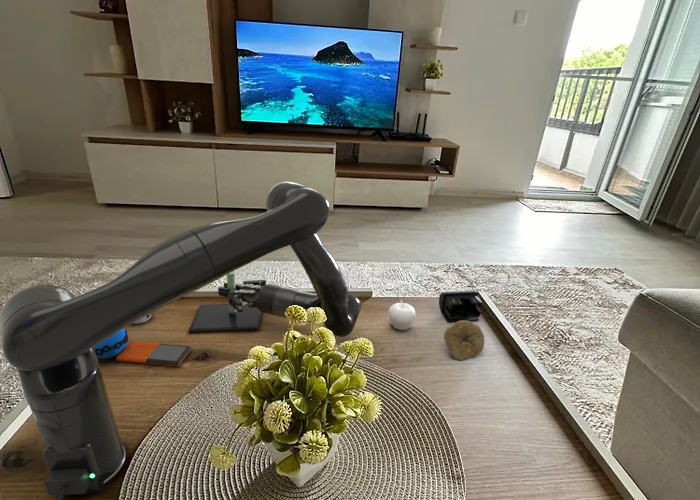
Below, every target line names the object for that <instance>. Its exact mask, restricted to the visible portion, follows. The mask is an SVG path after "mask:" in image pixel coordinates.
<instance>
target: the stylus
mask: <svg viewBox="0 0 700 500" xmlns="http://www.w3.org/2000/svg"><path fill="white" fill-rule="evenodd" d="M235 271H236V270H234V271H232V272H230V273H228V274H227V275H226V282H227V286H228V289H232V290H236V285H235V284H236V272H235ZM235 296H236V297H237V294H235ZM227 304H228V307H229V316H231V317H233V316H236V314H237V312H236V309H234V308H233V307H232V306H231V305H230V304H229V300H228V299H227Z"/></svg>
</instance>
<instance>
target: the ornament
mask: <svg viewBox="0 0 700 500" xmlns="http://www.w3.org/2000/svg"><path fill="white" fill-rule="evenodd" d="M128 342H129V335H128V331H127V330H126V327H125V328H123V329H122V330H120V331H119V332H117V333H115V334H114V335H112V336H111V337H109V338H108V339H106V340H104V341H103V342H101V343H100V344H98V345H96V346H95V347H93V348H94V351H95V354H96V357H97V359H100V360H102V359H103V360H106V359H110V358H113V357H116V356H118V355H119V354H120V353H121V352H122V351H123V350H124V349H125V348H126V346H127V343H128Z"/></svg>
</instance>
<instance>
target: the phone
mask: <svg viewBox="0 0 700 500" xmlns="http://www.w3.org/2000/svg"><path fill="white" fill-rule="evenodd" d="M191 350H192V347H191V346H189V345H180V344H171V343H170V344H169V343H159V342H156V343H155V342H146V341H137V340H132V341H130V343H129V344H128V345H126V346H125V347H124V348H123V350H122V351H121V352H120V353H118V354H117V355H116V356H115V360H116V361H117V362H124V363H125V362H126V363H136V364H144V365H154V366H165V367H176V368H177V367H179V366H180V365H181V364H182V362H183V361H184V360H185V359H186V357H187V356H188V354H190V352H191Z"/></svg>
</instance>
